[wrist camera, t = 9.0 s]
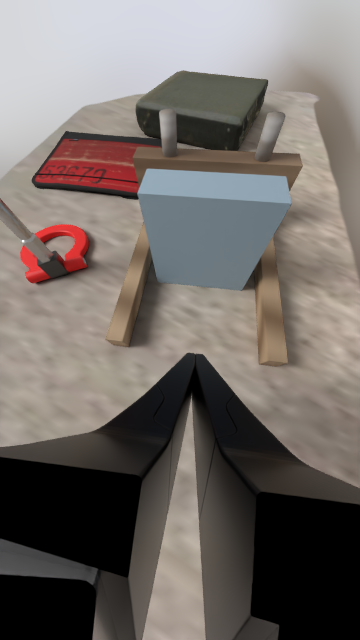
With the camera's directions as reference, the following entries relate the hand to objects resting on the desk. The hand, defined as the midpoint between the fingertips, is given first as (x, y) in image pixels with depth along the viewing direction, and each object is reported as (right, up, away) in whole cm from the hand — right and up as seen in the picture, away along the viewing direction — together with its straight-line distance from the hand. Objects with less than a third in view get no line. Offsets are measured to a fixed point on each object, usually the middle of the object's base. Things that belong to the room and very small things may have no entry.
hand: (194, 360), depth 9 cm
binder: (-15, +30, +22) cm, 40 cm away
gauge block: (+2, +11, +13) cm, 17 cm away
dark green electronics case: (+4, +46, +29) cm, 54 cm away
